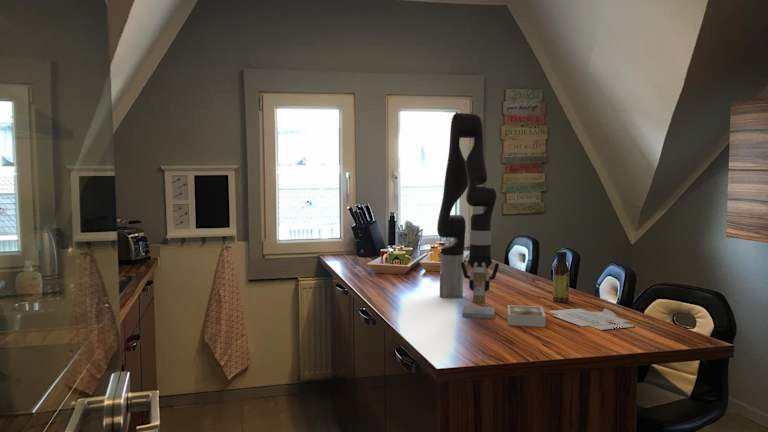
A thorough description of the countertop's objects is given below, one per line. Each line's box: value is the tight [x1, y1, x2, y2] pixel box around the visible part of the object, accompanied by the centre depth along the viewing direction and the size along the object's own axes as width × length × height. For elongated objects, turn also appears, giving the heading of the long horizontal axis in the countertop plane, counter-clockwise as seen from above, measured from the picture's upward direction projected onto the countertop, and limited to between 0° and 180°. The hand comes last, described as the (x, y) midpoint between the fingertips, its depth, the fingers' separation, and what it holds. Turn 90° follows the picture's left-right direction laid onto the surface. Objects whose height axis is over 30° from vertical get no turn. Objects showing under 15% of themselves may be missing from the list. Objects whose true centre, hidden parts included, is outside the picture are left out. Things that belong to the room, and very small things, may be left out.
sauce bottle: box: [552, 250, 570, 303], centre depth 239 cm, size 7×6×20 cm
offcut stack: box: [513, 308, 538, 316], centre depth 203 cm, size 9×5×5 cm, turn 79°
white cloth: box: [548, 308, 636, 331], centre depth 210 cm, size 20×28×4 cm
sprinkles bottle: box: [472, 267, 486, 306], centre depth 215 cm, size 5×5×14 cm
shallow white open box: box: [506, 304, 547, 328], centre depth 207 cm, size 12×15×4 cm
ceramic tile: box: [462, 305, 496, 319], centre depth 216 cm, size 11×11×2 cm
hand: (479, 290), depth 215 cm, fingers closed on sprinkles bottle, 4 cm apart
